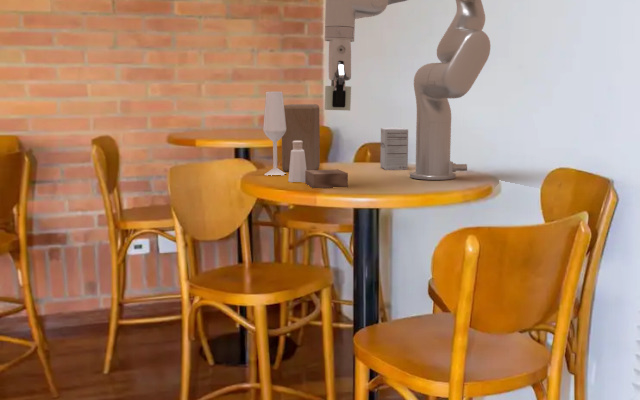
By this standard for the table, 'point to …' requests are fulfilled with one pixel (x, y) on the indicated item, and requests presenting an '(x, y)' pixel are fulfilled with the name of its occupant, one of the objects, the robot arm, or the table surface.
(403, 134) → the supplement box
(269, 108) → the champagne flute
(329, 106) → the sage block
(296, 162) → the pepper shaker
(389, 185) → the table surface
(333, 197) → the table surface
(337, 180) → the walnut block
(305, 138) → the block
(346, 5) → the robot arm
